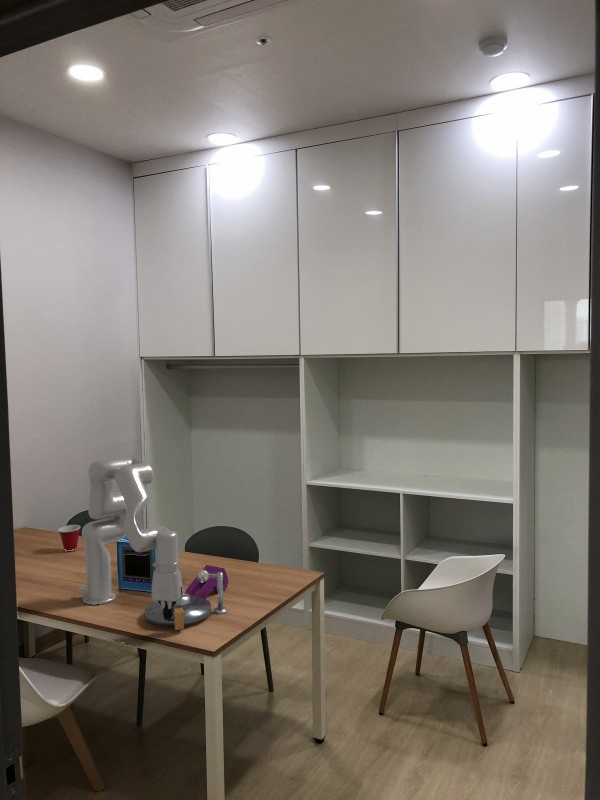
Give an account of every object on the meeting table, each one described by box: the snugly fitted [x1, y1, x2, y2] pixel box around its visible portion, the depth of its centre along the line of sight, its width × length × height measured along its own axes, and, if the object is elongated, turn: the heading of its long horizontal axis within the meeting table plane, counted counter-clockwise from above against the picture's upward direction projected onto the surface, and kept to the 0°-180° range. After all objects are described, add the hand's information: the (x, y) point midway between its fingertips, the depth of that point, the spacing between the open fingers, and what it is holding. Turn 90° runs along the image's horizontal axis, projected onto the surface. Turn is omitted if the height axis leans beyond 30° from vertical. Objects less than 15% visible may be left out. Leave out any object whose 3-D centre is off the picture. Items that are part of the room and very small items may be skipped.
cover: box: [173, 591, 190, 610], centre depth 238 cm, size 7×7×5 cm
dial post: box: [195, 569, 228, 615], centre depth 242 cm, size 11×5×16 cm, turn 79°
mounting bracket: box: [185, 564, 229, 599], centre depth 261 cm, size 9×8×18 cm
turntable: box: [144, 596, 212, 631], centre depth 236 cm, size 24×28×6 cm
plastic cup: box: [57, 524, 81, 550], centre depth 324 cm, size 11×11×12 cm
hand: (168, 618), depth 224 cm, fingers closed
